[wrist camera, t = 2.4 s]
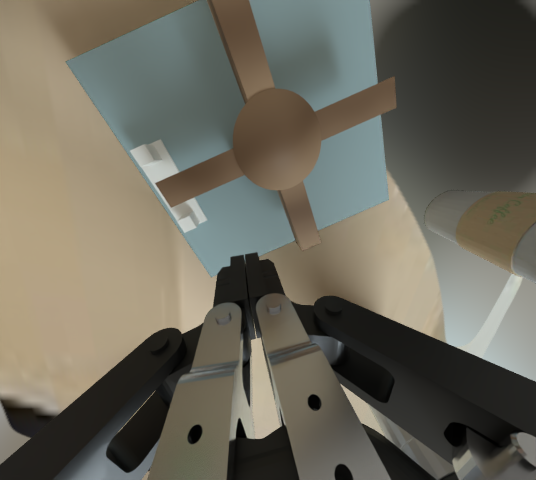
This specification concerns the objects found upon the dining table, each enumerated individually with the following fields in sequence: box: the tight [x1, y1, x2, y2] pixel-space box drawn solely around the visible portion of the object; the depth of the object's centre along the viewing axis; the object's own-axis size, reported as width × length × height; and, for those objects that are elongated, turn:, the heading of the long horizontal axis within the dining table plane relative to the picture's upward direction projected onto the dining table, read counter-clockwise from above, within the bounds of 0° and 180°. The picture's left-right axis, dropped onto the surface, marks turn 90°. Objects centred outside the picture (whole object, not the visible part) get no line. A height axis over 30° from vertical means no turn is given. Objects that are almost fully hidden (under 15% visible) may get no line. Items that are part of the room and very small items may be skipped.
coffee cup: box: [424, 190, 536, 283], centre depth 20 cm, size 9×9×15 cm
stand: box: [66, 0, 389, 277], centre depth 17 cm, size 21×22×5 cm
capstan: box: [155, 0, 396, 251], centre depth 14 cm, size 19×17×5 cm
